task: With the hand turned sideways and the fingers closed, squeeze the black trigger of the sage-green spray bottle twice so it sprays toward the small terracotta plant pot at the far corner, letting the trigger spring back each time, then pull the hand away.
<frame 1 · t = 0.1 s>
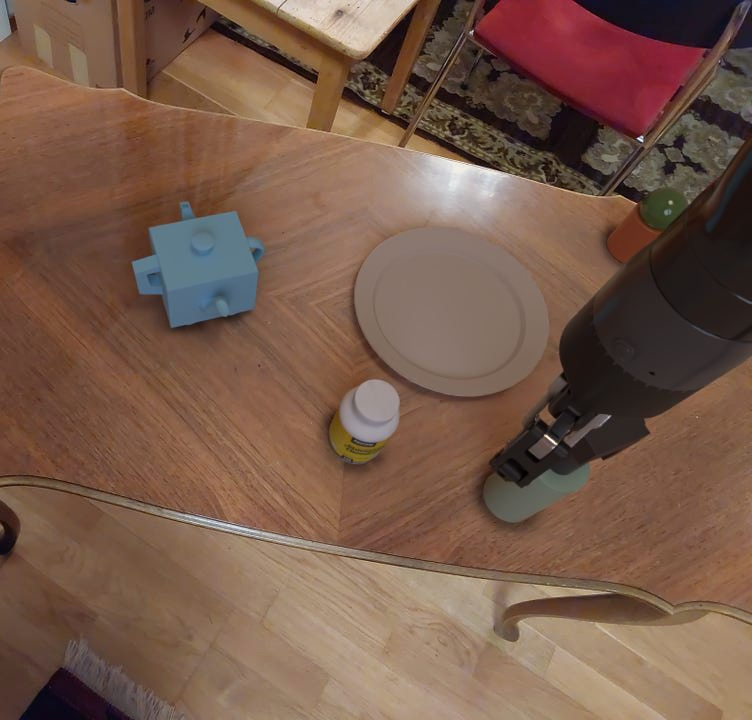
hand: (532, 432, 50), 26 cm above the table, tool pointing down, fingers open, 8 cm apart
trigger: (613, 439, 65), point 14 cm above the table, slide at -0.1 cm
teapot: (202, 299, 84), on the table
plate: (446, 314, 86), on the table
plant pot: (627, 248, 94), on the table
pill bottle: (354, 440, 77), on the table
spray bottle: (508, 496, 75), on the table
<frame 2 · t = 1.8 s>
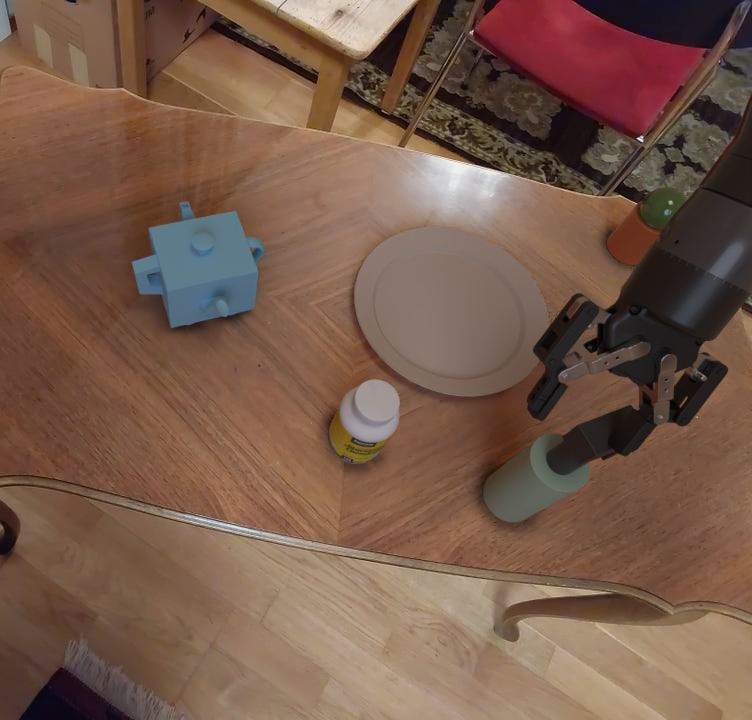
hand: (575, 432, 55), 22 cm above the table, tool tilted 40°, fingers open, 8 cm apart
nothing on the table moved.
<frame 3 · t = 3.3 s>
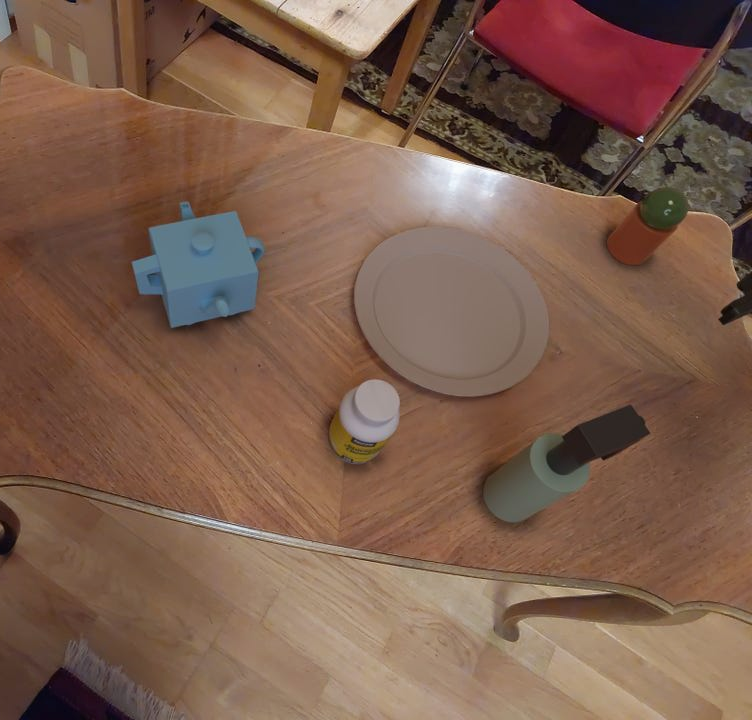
nothing on the table moved.
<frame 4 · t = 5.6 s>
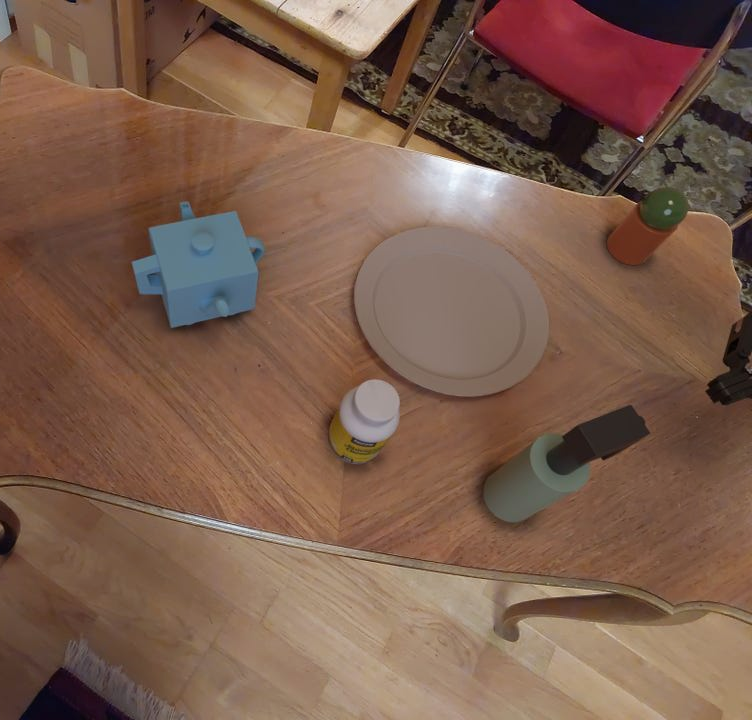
hand: (715, 394, 64), 17 cm above the table, tool horizontal, fingers closed
nothing on the table moved.
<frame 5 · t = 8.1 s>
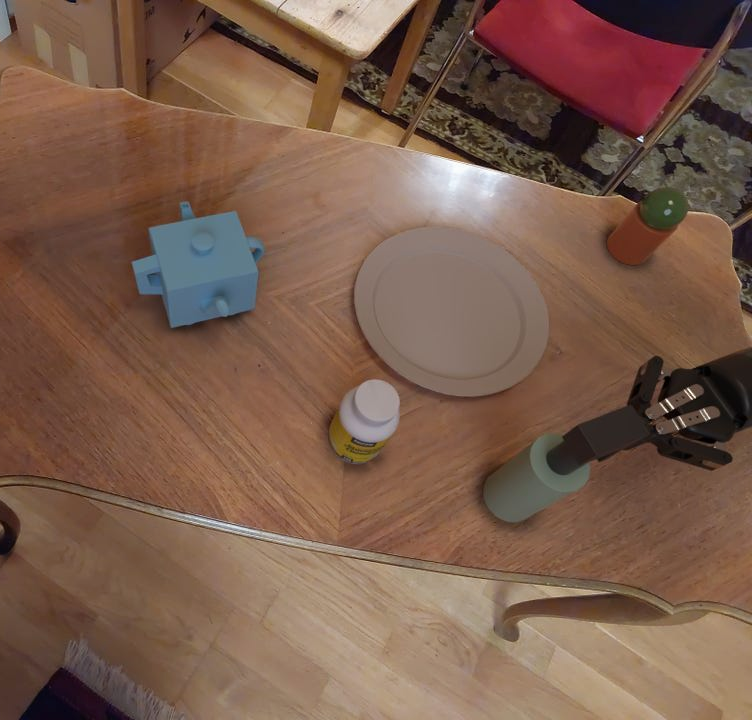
hand: (614, 439, 65), 13 cm above the table, tool horizontal, fingers closed
trigger: (609, 440, 64), point 14 cm above the table, slide at 0.4 cm, touching gripper
everything else where it was.
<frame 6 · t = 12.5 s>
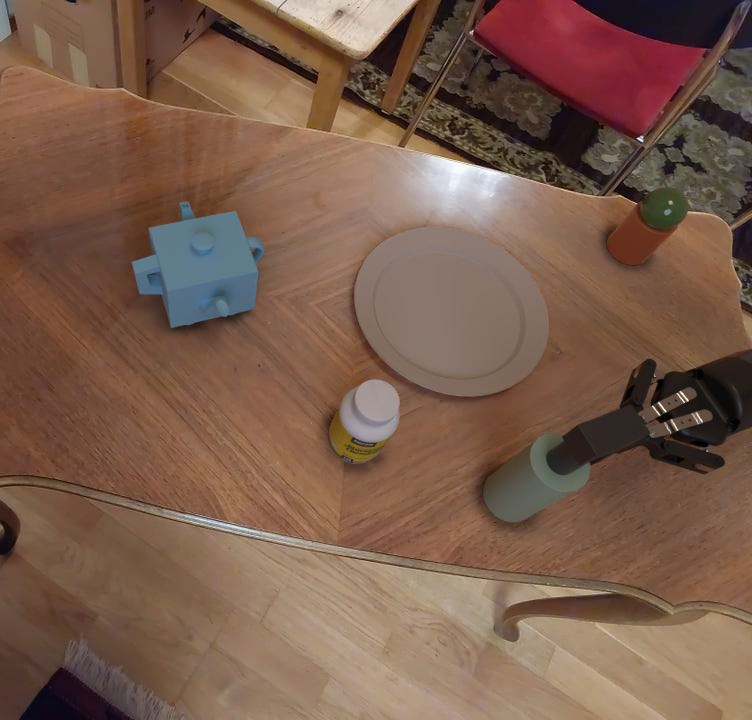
hand: (606, 442, 64), 13 cm above the table, tool horizontal, fingers closed
trigger: (601, 443, 64), point 14 cm above the table, slide at 1.4 cm, touching gripper
everything else where it was.
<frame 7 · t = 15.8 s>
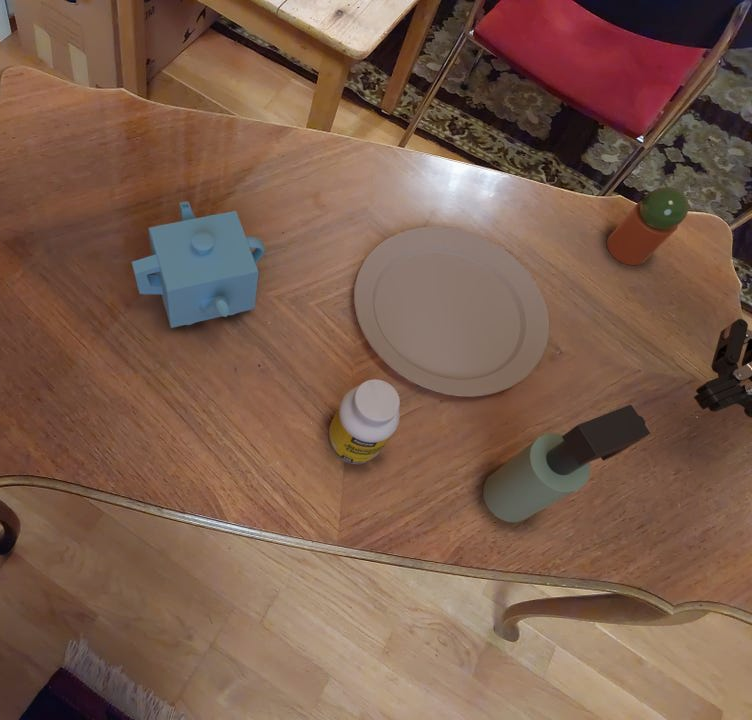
hand: (703, 400, 65), 16 cm above the table, tool horizontal, fingers closed
trigger: (613, 439, 65), point 14 cm above the table, slide at -0.1 cm
everything else where it was.
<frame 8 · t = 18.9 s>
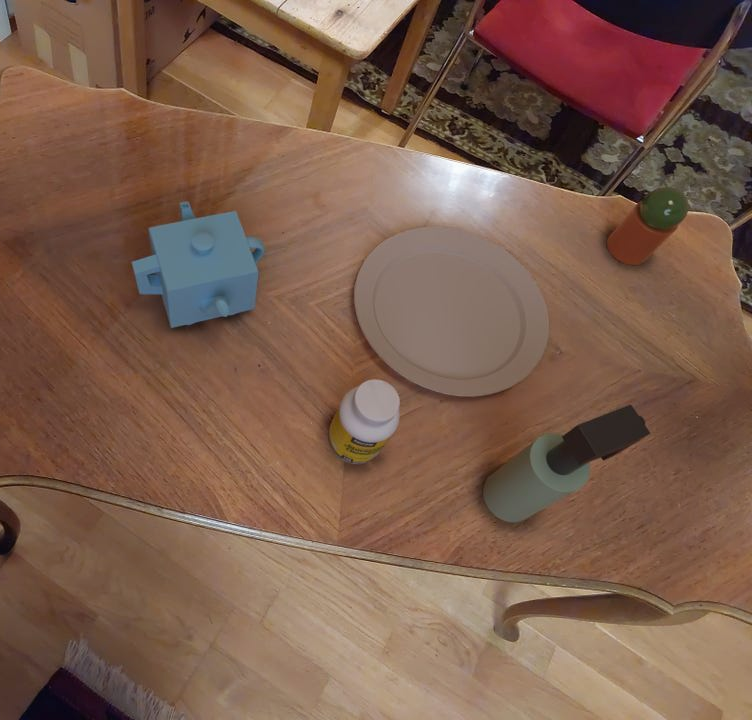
nothing on the table moved.
at the end: trigger pulled out 1.5 cm at the most during the clip, back to where it started at the end; trigger slide at -0.1 cm; trigger 43.8 cm from the plant pot (horizontally) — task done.
